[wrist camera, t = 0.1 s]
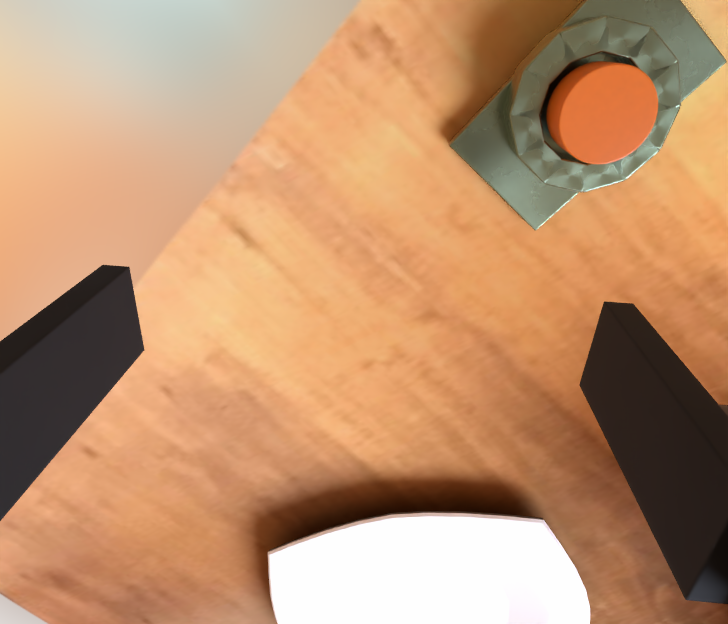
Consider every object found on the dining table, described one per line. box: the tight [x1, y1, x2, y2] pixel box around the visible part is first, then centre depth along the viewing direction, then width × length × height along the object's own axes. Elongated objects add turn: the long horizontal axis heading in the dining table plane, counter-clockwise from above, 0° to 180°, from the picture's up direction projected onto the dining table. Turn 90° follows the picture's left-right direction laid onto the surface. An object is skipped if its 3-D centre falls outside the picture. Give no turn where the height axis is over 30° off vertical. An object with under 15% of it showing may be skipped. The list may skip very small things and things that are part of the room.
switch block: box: [449, 0, 727, 230], centre depth 22 cm, size 10×6×2 cm, turn 138°
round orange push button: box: [546, 61, 658, 164], centre depth 20 cm, size 4×4×2 cm
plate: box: [268, 511, 590, 624], centre depth 39 cm, size 23×23×2 cm
